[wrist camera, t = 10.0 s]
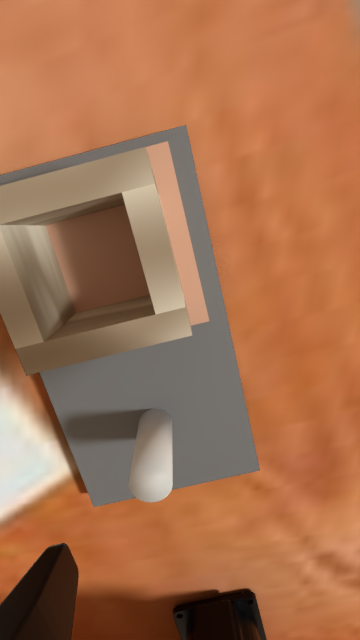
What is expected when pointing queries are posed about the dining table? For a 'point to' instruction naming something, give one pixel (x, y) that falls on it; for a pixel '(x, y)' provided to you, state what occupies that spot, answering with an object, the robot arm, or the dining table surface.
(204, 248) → the stand board
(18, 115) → the dining table surface
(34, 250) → the beige square hollow block
